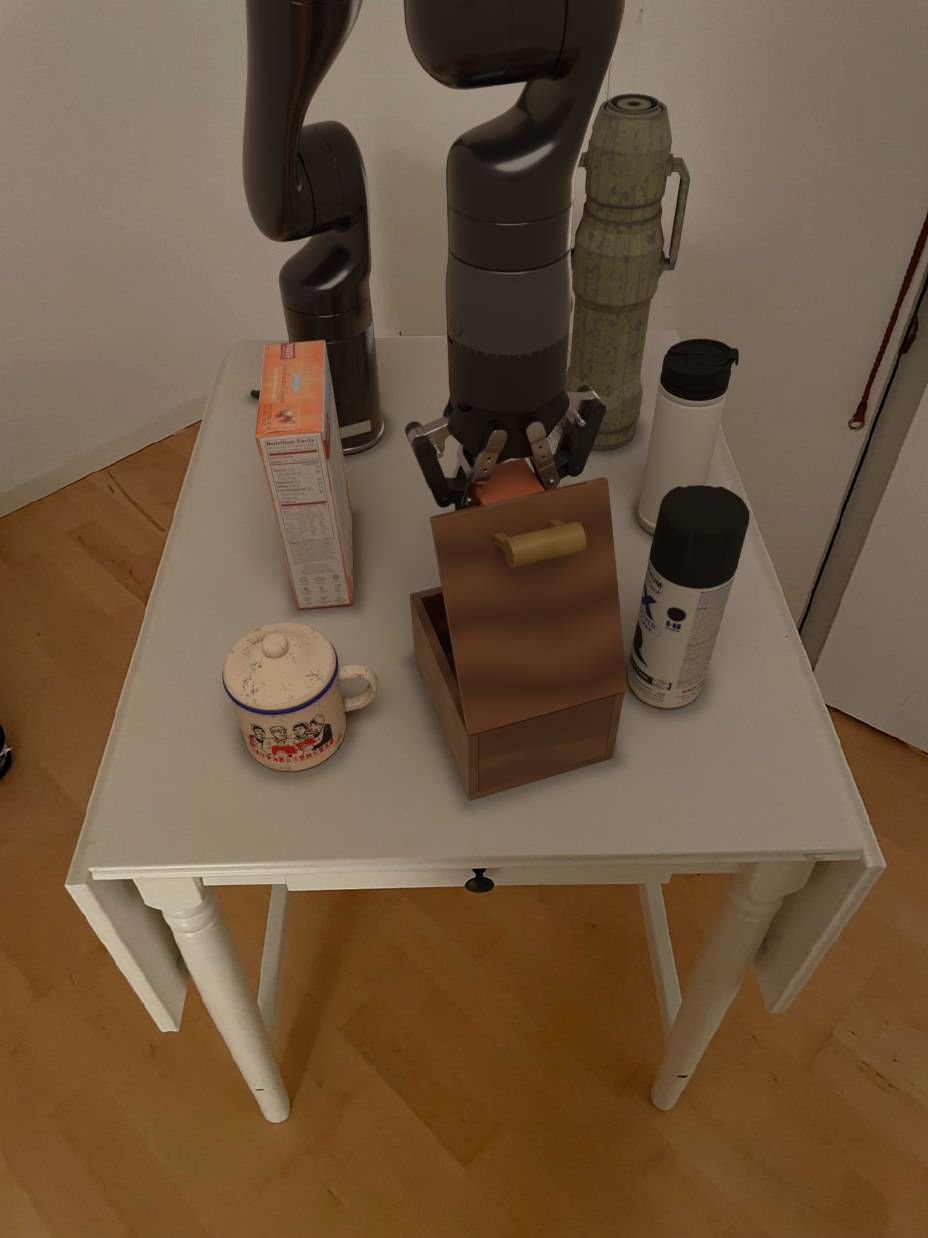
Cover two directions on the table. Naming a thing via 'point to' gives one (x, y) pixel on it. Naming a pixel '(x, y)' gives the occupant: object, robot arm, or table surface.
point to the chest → (516, 746)
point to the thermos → (621, 255)
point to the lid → (532, 603)
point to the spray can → (685, 592)
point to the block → (510, 482)
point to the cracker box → (306, 472)
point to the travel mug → (685, 421)
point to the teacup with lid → (291, 694)
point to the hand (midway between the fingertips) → (504, 528)
